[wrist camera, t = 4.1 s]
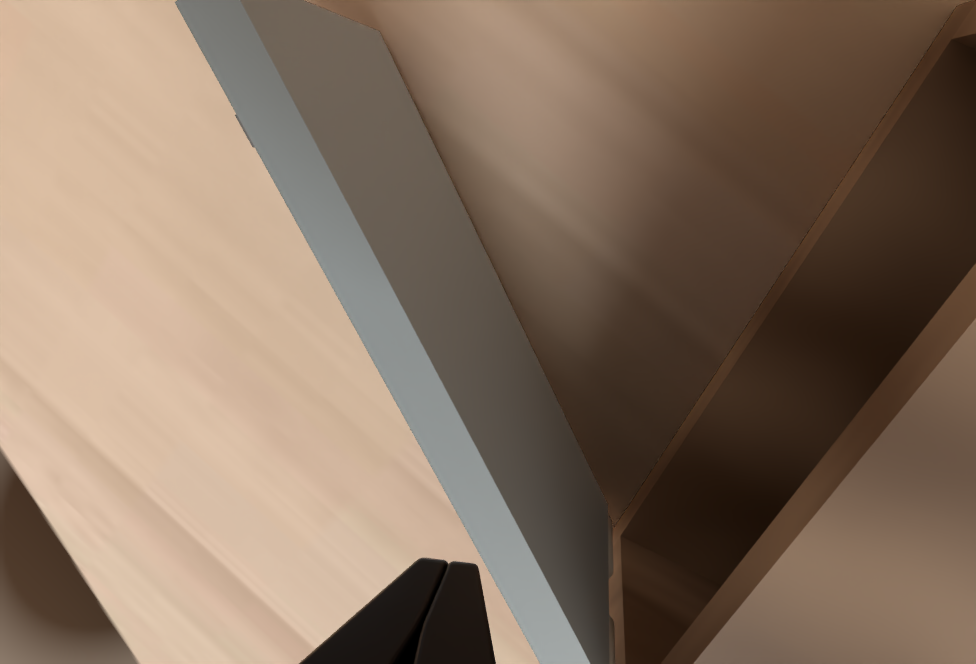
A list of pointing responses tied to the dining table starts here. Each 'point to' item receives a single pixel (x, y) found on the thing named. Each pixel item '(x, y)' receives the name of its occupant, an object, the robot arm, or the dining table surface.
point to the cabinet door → (422, 303)
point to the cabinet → (834, 428)
